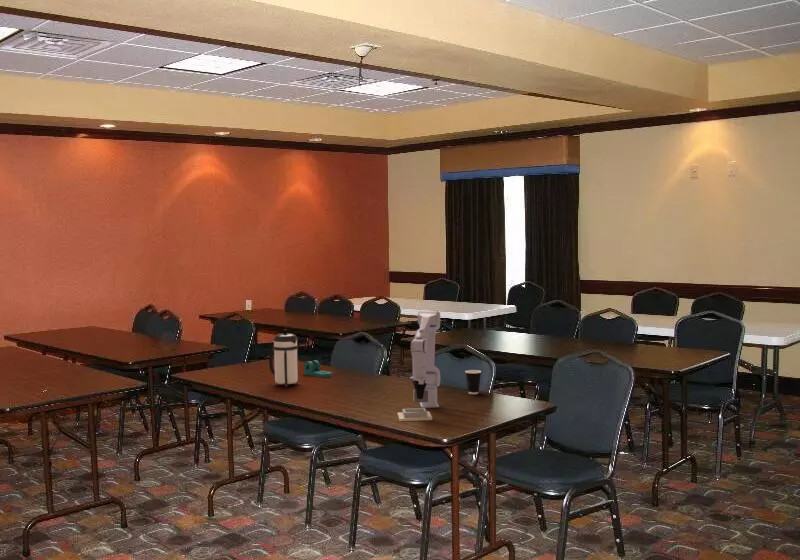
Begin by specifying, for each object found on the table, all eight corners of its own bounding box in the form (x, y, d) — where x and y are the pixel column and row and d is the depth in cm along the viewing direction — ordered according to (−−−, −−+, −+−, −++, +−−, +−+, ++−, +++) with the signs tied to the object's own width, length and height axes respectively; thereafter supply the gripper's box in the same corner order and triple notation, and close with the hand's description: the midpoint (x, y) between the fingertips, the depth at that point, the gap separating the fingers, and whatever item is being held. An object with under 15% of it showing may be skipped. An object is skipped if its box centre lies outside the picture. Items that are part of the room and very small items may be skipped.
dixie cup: (484, 392, 403) (484, 370, 402) (476, 395, 396) (476, 373, 395) (470, 391, 407) (469, 369, 406) (462, 393, 401) (462, 371, 400)
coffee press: (302, 381, 439) (300, 326, 437) (299, 387, 423) (297, 330, 421) (269, 382, 438) (268, 327, 436) (265, 388, 422) (264, 331, 420)
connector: (413, 400, 355) (413, 389, 355) (426, 400, 356) (426, 388, 355) (414, 402, 351) (414, 391, 351) (428, 402, 352) (428, 390, 351)
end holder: (397, 414, 358) (397, 408, 358) (429, 413, 360) (428, 406, 359) (399, 421, 347) (399, 414, 346) (432, 420, 348) (432, 413, 348)
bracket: (303, 374, 460) (303, 361, 460) (312, 373, 465) (312, 359, 465) (325, 378, 448) (325, 364, 448) (334, 376, 453) (333, 362, 453)
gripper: (408, 364, 359) (408, 394, 360) (411, 369, 345) (412, 401, 346) (424, 363, 360) (424, 394, 361) (428, 369, 345) (428, 400, 346)
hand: (419, 397), depth 353 cm, fingers closed on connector, 4 cm apart
